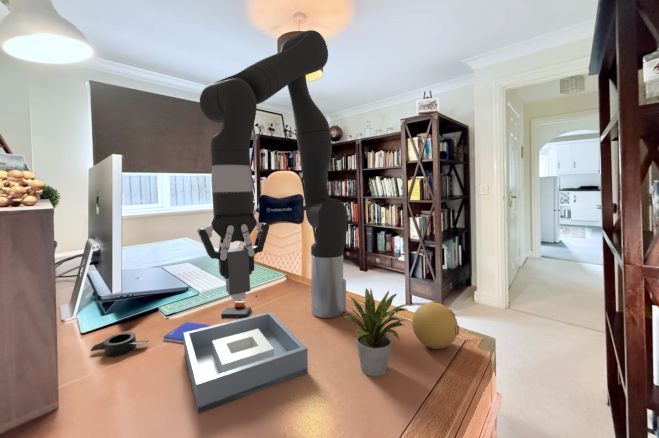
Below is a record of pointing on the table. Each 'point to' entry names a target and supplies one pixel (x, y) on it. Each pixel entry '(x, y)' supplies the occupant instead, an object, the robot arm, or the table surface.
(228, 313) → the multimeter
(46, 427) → the table surface
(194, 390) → the walled box
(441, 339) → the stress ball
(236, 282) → the plug
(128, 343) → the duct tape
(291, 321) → the table surface
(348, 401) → the table surface
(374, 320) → the house plant
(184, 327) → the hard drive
